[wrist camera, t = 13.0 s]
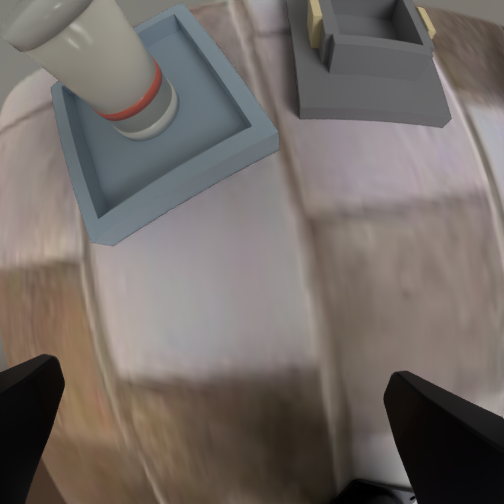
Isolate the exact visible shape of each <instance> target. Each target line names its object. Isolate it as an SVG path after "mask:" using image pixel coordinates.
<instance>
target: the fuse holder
mask: <svg viewBox="0 0 504 504" xmlns="http://www.w3.org/2000/svg"><path fill="white" fill-rule="evenodd" d="M286 5H287V12H288V19H289V26H290V34H291V42H292V50H293V58H294V67H295V76H296V85H297V95H298V105H299V117H300V119H342V120H366V121H382V122H395V123H405V124H415V125H424V126H432V127H439V128H443V127H444V126H445V125H446V124H447V123H448V122H449V121H450V120H451V119H452V118H451V114H450V111H449V107H448V104H447V100H446V97H445V94H444V91H443V87H442V84H441V81H440V78H439V76H438V73H437V70H436V67H435V64H434V62H433V59H432V58H433V54H432V52H433V50H434V49H435V47H434V45H433V42H432V40H431V39H432V38H433V36H434V34H435V32H436V31H435V29H434V27H433V25H432V23H431V21H430V19H429V17H428V15H427V13H426V11H425V10H424V8H420V7H417V8H416V7H415V5H414V3H413V1H412V0H286Z"/></svg>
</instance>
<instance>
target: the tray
mask: <svg viewBox="0 0 504 504" xmlns="http://www.w3.org/2000/svg"><path fill="white" fill-rule="evenodd" d="M133 29H134V30H135V32H136V33H137V35H138V36H139V38H140V39H141V41H142V42H143V44H144V46H145V47H146V49H147V50H148V52H149V53H150V55H151V56H152V57H153V58H154V59H155V61H156V62H157V64H158V65H159V67H160V69H161V71H162V73H163V75H164V76H165V78H167V79H168V80H169V81H170V83H171V84H172V86H173V87H174V89H175V90H176V92H177V94H178V96H179V102H180V104H179V110H178V113H177V116H176V118H175V119H174V121H173V123H172V124H171V125H170V126H169V127H168V128H167V129H166V130H165V131H164V132H163V133H161V134H160V135H158V136H156V137H155V138H152V139H150V140H146V141H132V140H129V139H127V138H126V137H124V136H123V135H122V134H121V133H119V132H118V131H117V130H116V129H115V128H114V127H113V125H112V124H111V123H110V122H109V121H107V120H106V119H104V118H103V117H101V116H100V115H99V114H98V113H96V112H95V111H94V110H93V109H92V107H90V106H89V105H88V104H87V103H86V102H84V101H83V100H82V99H81V98H79V97H78V96H77V95H76V94H75V93H73V92H72V91H71V90H70V89H69V88H67V87H66V86H65V85H64V84H62V83H61V82H60V81H58V82H57V83H55V84H54V85H53V86H52V87H51V93H52V99H53V105H54V111H55V116H56V121H57V126H58V130H59V135H60V139H61V144H62V148H63V152H64V156H65V160H66V164H67V168H68V171H69V175H70V179H71V182H72V185H73V189H74V192H75V196H76V199H77V202H78V205H79V208H80V211H81V214H82V217H83V220H84V223H85V226H86V229H87V232H88V235H89V237H90V240H91V243H95V244H102V245H109V246H114V245H116V244H117V243H119V242H120V241H122V240H123V239H125V238H126V237H128V236H129V235H131V234H132V233H134V232H136V231H137V230H139V229H140V228H142V227H143V226H145V225H147V224H148V223H150V222H151V221H153V220H155V219H156V218H158V217H160V216H161V215H163V214H164V213H166V212H168V211H169V210H171V209H173V208H174V207H176V206H178V205H179V204H181V203H183V202H184V201H186V200H188V199H190V198H191V197H193V196H195V195H196V194H198V193H200V192H202V191H203V190H205V189H207V188H209V187H210V186H212V185H214V184H216V183H218V182H219V181H221V180H223V179H225V178H227V177H228V176H230V175H232V174H234V173H236V172H237V171H239V170H241V169H243V168H245V167H247V166H249V165H251V164H252V163H254V162H256V161H258V160H260V159H262V158H264V157H266V156H268V155H270V154H272V153H274V152H276V151H278V150H279V136H278V131H277V129H276V128H275V126H274V125H273V123H272V122H271V120H270V119H269V117H268V116H267V114H266V113H265V111H264V110H263V108H262V107H261V105H260V104H259V103H258V101H257V100H256V98H255V97H254V95H253V94H252V92H251V91H250V90H249V88H248V87H247V85H246V84H245V83H244V81H243V80H242V78H241V77H240V76H239V74H238V73H237V71H236V70H235V69H234V67H233V66H232V65H231V63H230V62H229V61H228V59H227V58H226V57H225V55H224V54H223V53H222V51H221V50H220V49H219V47H218V46H217V45H216V43H215V42H214V41H213V40H212V38H211V37H210V36H209V34H208V33H207V32H206V31H205V29H204V28H203V27H202V26H201V24H200V23H199V22H198V21H197V20H196V18H195V17H194V16H193V15H192V13H191V12H190V11H189V10H188V9H187V7H186V6H185V5H184V4H183V3H180V4H178V5H175V6H173V7H171V8H169V9H167V10H165V11H163V12H161V13H159V14H158V15H156V16H154V17H152V18H150V19H148V20H147V21H145V22H143V23H141V24H139V25H138V26H136V27H134V28H133Z"/></svg>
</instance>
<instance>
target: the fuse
mask: <svg viewBox="0 0 504 504" xmlns="http://www.w3.org/2000/svg"><path fill="white" fill-rule="evenodd" d="M1 37H2V38H3V39H4V40H5V41H7V42H8V43H9V44H10V45H12V46H13V47H14V48H16V49H17V50H18V51H20V52H24V53H26V54H27V55H28V56H29V57H31V58H32V59H33V60H34V61H36V62H37V63H38V64H39V65H40V66H42V67H43V68H44V69H45V70H47V71H48V72H49V73H50V74H51V75H53V76H54V77H55V78H56V79H58V80H59V81H60V82H61V83H62V84H64V85H65V86H66V87H67V88H69V89H70V90H71V91H72V92H73V93H75V94H76V95H77V96H78V97H79V98H81V99H82V100H83V101H84V102H86V103H87V104H88V105H89V106H90V107H92V109H93V110H94V111H95V112H96V113H98V114H99V115H100V116H101V117H103V118H104V119H106V120H107V121H109V122H110V123H111V124H112V125H113V127H114V128H115V129H116V130H117V131H118V132H119V133H121V134H122V135H123V136H124V137H126V138H127V139H129V140H132V141H146V140H150V139H152V138H155V137H156V136H158V135H160V134H161V133H163V132H164V131H165V130H166V129H167V128H168V127H169V126H170V125H171V124H172V123H173V121H174V119H175V118H176V116H177V113H178V110H179V104H180V102H179V96H178V94H177V92H176V90H175V89H174V87H173V86H172V84H171V83H170V81H169V80H168V79H167V78H165V76H164V75H163V73H162V71H161V69H160V67H159V65H158V64H157V62H156V61H155V59H154V58H153V57H152V56H151V55H150V53H149V52H148V50H147V49H146V47H145V46H144V44H143V42H142V41H141V39H140V38H139V36H138V35H137V33H136V32H135V30H134V29H133V27H132V26H131V24H130V23H129V21H128V20H127V18H126V17H125V15H124V14H123V12H122V11H121V9H120V8H119V7H118V5H117V3H116V2H115V0H20V1H19V2H18V3H17V4H16V6H15V7H14V8H13V10H12V11H11V12H10V14H9V15H8V17H7V18H6V20H5V22H4V24H3V26H2V30H1Z"/></svg>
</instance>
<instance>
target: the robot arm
mask: <svg viewBox="0 0 504 504" xmlns="http://www.w3.org/2000/svg"><path fill="white" fill-rule="evenodd" d="M64 387H65V380H64V377H63V374H62V370H61V367H60V363H59V360H58V359H57V357H55V356H52V355H48V354H42V355H39V356H37V357H35V358H33V359H30V360H28V361H26V362H23V363H21V364H19V365H16V366H14V367H12V368H9V369H7V370H5V371H2V372H0V504H25V502H26V499H27V496H28V493H29V489H30V487H31V484H32V481H33V477H34V475H35V472H36V469H37V467H38V464H39V461H40V459H41V456H42V453H43V451H44V448H45V446H46V443H47V441H48V438H49V435H50V433H51V430H52V427H53V424H54V420H55V417H56V413H57V410H58V407H59V404H60V400H61V397H62V394H63V391H64ZM383 400H384V405H385V408H386V412H387V415H388V419H389V422H390V426H391V430H392V433H393V437H394V441H395V444H396V447H397V450H398V452H399V455H400V457H401V460H402V462H403V465H404V468H405V470H406V473H407V476H408V478H409V481H410V484H411V486H412V489H413V490H408V489H402V488H397V487H392V486H388V485H383V484H379V483H374V482H370V481H366V480H362V479H355V480H353V481H352V482H351V483H350V484H349V485H348V486H347V487H346V488H345V489H344V490H343V491H342V493H341V494H340V495H339V496H338V497H337V498H336V499H334V500H333V501H332V502H331V503H330V504H413V503H414V501H415V500H417V503H418V504H504V419H503V417H501V416H499V415H496V414H494V413H492V412H490V411H488V410H486V409H484V408H482V407H479V406H477V405H475V404H473V403H471V402H469V401H467V400H465V399H463V398H461V397H459V396H457V395H455V394H453V393H451V392H449V391H447V390H445V389H443V388H441V387H438V386H436V385H434V384H432V383H431V382H429V381H427V380H425V379H423V378H421V377H419V376H417V375H415V374H413V373H411V372H409V371H398V372H394V373H393V374H392V375H391V378H390V380H389V383H388V385H387V388H386V391H385V393H384V399H383ZM358 484H359V485H358ZM355 485H358V486H355Z"/></svg>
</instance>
